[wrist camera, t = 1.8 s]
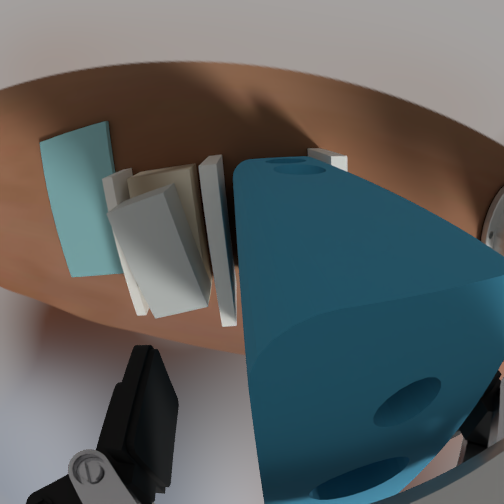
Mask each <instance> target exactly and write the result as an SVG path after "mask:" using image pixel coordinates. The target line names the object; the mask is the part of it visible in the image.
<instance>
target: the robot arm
mask: <svg viewBox="0 0 504 504" xmlns="http://www.w3.org/2000/svg"><path fill="white" fill-rule="evenodd" d="M481 242H483V243H484V244H486V245H487V246H489V247H490V248H492V249H493V250H495V251H496V252H498V253H499V254H501V255H502V256H504V186H503V187H502V188H501V189H500V191H499V192H498V194H497V195H496V196H495V198H494V200H493V202H492V204H491V206H490V208H489V210H488V213H487V216H486V219H485V222H484V226H483V231H482V236H481ZM500 376H501V373H500V372H499V371H497V372H496V374H495V376H494V378H493V379H492V381H491V383H490V384H489V386H488V387H487V389H486V390H485V392H484V394H483V395H482V397H481V398H480V400H479V401H478V403H477V404H476V406H475V407H474V408H473V410H472V411H471V413H470V414H469V415H468V417H467V418H466V419H465V421H464V422H463V423H462V425H461V426H460V427H459V429H458V430H457V431H456V432H455V434H454V435H453V436H452V437H451V439H452V438H454V437H456V436H457V435H459V434H460V433H462V435H463V441H462V446H461V451H460V454H459V459H458V462H457V466H456V467H455V468H453V469H451V470H449V471H447V472H446V473H443V474H441V475H440V476H437V477H436V478H433V479H431V480H429V481H427V482H425V483H422V484H421V485H418V486H416V487H413V488H411V489H408V490H406V491H404V492H401V493H398V494H396V495H393V496H391V497H388V498H385V499H382V500H379V501H376V502H373V503H370V504H504V377H503V379H502V380H500V379H499V378H500ZM178 406H179V404H178V398H177V396H176V393H175V391H174V388H173V386H172V384H171V381H170V379H169V376H168V374H167V371H166V369H165V366H164V363H163V361H162V358H161V356H160V353H159V351H158V349H154V348H153V347H152V346H151V345H136V346H134V348H133V350H132V353H131V356H130V359H129V363H128V365H127V368H126V371H125V374H124V377H123V380H122V382H120V383H117V384H116V386H115V389H114V391H113V395H112V397H111V401H110V404H109V407H108V410H107V413H106V417H105V420H104V423H103V427H102V430H101V434H100V437H99V441H98V444H97V448H96V450H83V451H80V452H78V453H77V454H76V455H74V456H73V458H72V459H71V461H70V463H69V465H68V473H69V474H67V475H66V476H64V477H62V478H60V479H58V480H57V481H55V482H53V483H51V484H49V485H47V486H45V487H43V488H41V489H40V490H38V491H36V492H34V493H32V494H31V495H30V496H29V497H28V499H27V502H26V504H154V501H155V493H165V487H169V486H170V483H171V473H172V462H173V452H174V442H175V433H176V424H177V415H178Z"/></svg>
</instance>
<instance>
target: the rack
mask: <svg viewBox="0 0 504 504" xmlns="http://www.w3.org/2000/svg"><path fill="white" fill-rule="evenodd" d="M307 151H308V157H312V158H315V159H317V160H320V161H322V162H325V163H327V164H330V165H332V166H335V167H337V168H339V169H342V170H344V171H346V172H347V156H345V155H342V154H339V153H335V152H332V151H329V150H325V149H322V148H307ZM198 167H199V175H200V183H201V191H202V199H203V206H204V213H205V221H206V228H207V235H208V242H209V248H210V255H211V261H212V268H213V274H214V280H215V287H216V293H217V299H218V304H219V310H220V316H221V322H222V327H226V326H237V318H236V276H235V268H234V259H233V251H232V242H231V234H230V225H229V216H228V207H227V198H226V189H225V179H224V170H223V160H222V155H213V156H208V157H207V158H206V159H205V160H204V161H203V162H202V163H201V164H200V165H199V166H198ZM131 176H133V173H132V168H128V169H123V170H121V171H118V172H116V173H114V174H111V175H109V176H107V177H105V178H103V179H102V182H103V188H104V193H105V198H106V203H107V208H108V212H109V211H111V210H112V209H113V208H115V207H116V206H117V205H119V204H120V203H122V202H123V201H125V200H128V199H130V195H129V189H128V183H127V179H128V178H130V177H131ZM112 230H113V229H112ZM113 234H114V238H115V242H116V246H117V250H118V254H119V257H120V261H121V265H122V268H123V272H124V275H125V278H126V282H127V285H128V288H129V292H130V295H131V298H132V301H133V304H134V307H135V310H136V313H137V315H146V314H147V312H148V310H149V306H148V304H147V302H146V300H145V298H144V296H143V294H142V292H141V290H140V288H139V286H138V284H137V282H136V280H135V278H134V275H133V273H132V271H131V269H130V267H129V265H128V263H127V261H126V258H125V256H124V254H123V252H122V249H121V247H120V245H119V243H118V240H117V238H116V236H115V233H114V231H113Z"/></svg>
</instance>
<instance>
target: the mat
mask: <svg viewBox="0 0 504 504" xmlns="http://www.w3.org/2000/svg"><path fill="white" fill-rule="evenodd" d="M40 150H41V156H42V163H43V169H44V175H45V180H46V185H47V190H48V195H49V199H50V204H51V208H52V212H53V216H54V220H55V224H56V228H57V232H58V235H59V239H60V242H61V246H62V249H63V252H64V255H65V259H66V262H67V265H68V268H69V271H70V274H71V276H72V277H82V276H94V275H107V274H119V273H124V272H123V268H122V265H121V261H120V257H119V254H118V250H117V246H116V242H115V238H114V234H113V230H112V226H111V224H110V221H109V219H108V216H107V213H108V208H107V203H106V198H105V193H104V188H103V182H102V179H103V178H105V177H107V176H109V175H111V174H114V173H115V167H114V161H113V154H112V147H111V139H110V131H109V123H108V121H104V122H100V123H97V124H93V125H90V126H87V127H83V128H80V129H77V130H74V131H71V132H68V133H65V134H62V135H59V136H56V137H53V138H50V139H48V140H45V141H42V142H40Z"/></svg>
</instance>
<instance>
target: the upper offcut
mask: <svg viewBox="0 0 504 504" xmlns="http://www.w3.org/2000/svg"><path fill="white" fill-rule="evenodd" d="M107 216H108V219H109V221H110V224H111V226H112V229H113V231H114V233H115V236H116V238H117V240H118V243H119V245H120V247H121V249H122V252H123V254H124V256H125V258H126V261H127V263H128V265H129V267H130V269H131V271H132V273H133V275H134V278H135V280H136V282H137V284H138V286H139V288H140V290H141V292H142V294H143V296H144V298H145V300H146V302H147V304H148V306H149V307H150V309H151V311H152V313H153V315H154V317H155V318H160V317H164V316H169V315H174V314H178V313H182V312H187V311H191V310H196V309H200V308H204V307H208V303H209V296H210V290H211V282H210V279H209V277H208V274H207V272H206V269H205V266H204V264H203V261H202V259H201V256H200V253H199V251H198V248H197V245H196V243H195V240H194V237H193V235H192V232H191V229H190V226H189V224H188V221H187V218H186V215H185V213H184V210H183V207H182V204H181V201H180V198H179V196H178V193H177V190H176V187H175V184H174V183H172V184H169V185H166V186H163V187H160V188H158V189H155V190H152V191H149V192H147V193H144V194H141V195H138V196H136V197H133V198H131V199H128V200H125V201H123V202H122V203H120V204H119V205H117V206H116V207H115V208H113V209H112V210H111V211H109V212H108V213H107Z"/></svg>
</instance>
